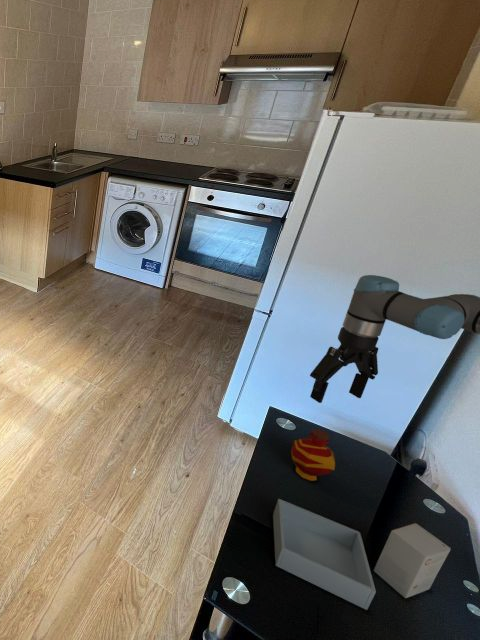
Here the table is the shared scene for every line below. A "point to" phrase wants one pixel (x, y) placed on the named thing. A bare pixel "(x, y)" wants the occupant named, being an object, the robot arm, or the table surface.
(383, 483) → the table surface
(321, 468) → the potion bottle
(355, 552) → the gray square tray
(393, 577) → the small box
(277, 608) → the table surface
